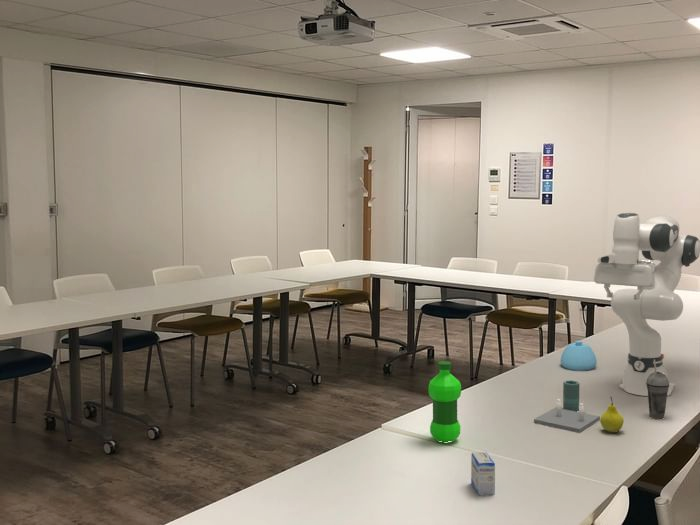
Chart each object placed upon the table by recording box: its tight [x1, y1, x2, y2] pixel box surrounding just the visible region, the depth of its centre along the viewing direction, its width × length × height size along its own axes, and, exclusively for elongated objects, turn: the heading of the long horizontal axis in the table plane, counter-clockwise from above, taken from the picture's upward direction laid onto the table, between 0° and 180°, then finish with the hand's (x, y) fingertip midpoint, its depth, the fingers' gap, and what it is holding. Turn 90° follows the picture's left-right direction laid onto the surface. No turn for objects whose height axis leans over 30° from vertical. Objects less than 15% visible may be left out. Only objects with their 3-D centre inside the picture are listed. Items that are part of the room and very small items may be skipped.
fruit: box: [599, 396, 624, 434], centre depth 230 cm, size 7×7×12 cm
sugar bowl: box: [560, 340, 598, 371], centre depth 311 cm, size 15×15×12 cm
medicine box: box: [470, 451, 496, 496], centre depth 190 cm, size 8×4×9 cm, turn 5°
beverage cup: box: [646, 359, 670, 420], centre depth 242 cm, size 7×7×20 cm
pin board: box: [533, 398, 601, 434], centre depth 241 cm, size 16×16×7 cm
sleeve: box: [562, 380, 580, 412], centre depth 253 cm, size 5×5×10 cm
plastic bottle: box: [428, 360, 462, 442], centre depth 225 cm, size 10×10×25 cm
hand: (622, 298), depth 252 cm, fingers open, 8 cm apart
